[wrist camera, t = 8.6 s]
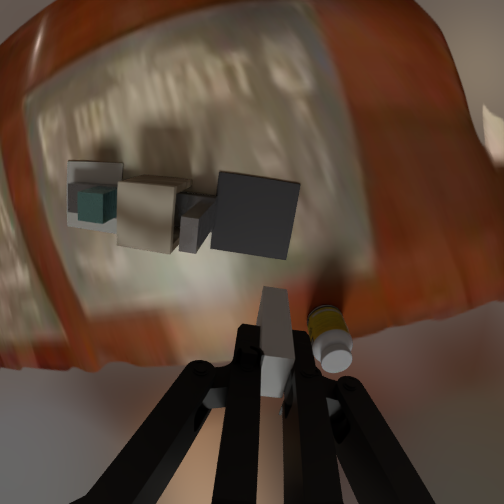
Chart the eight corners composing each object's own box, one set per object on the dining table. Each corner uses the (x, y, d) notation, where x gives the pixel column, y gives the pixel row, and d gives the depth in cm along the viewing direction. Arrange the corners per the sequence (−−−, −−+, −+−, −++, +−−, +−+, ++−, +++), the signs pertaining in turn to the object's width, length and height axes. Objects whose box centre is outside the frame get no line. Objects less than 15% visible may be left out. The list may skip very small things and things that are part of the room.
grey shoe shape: (219, 172, 41) (219, 172, 41) (300, 184, 41) (300, 184, 41) (210, 248, 45) (210, 248, 45) (285, 259, 45) (286, 260, 45)
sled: (74, 181, 42) (27, 195, 30) (218, 195, 42) (199, 214, 30) (74, 209, 43) (29, 229, 32) (214, 228, 43) (195, 257, 32)
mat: (68, 161, 41) (67, 161, 41) (123, 163, 41) (122, 163, 41) (68, 225, 45) (67, 225, 45) (120, 233, 45) (119, 234, 45)
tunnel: (144, 174, 42) (117, 181, 33) (192, 179, 42) (174, 187, 33) (141, 227, 45) (116, 245, 36) (187, 234, 45) (169, 254, 36)
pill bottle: (305, 305, 48) (314, 348, 37) (341, 300, 47) (359, 341, 37) (307, 335, 50) (315, 380, 39) (341, 330, 50) (356, 373, 39)
